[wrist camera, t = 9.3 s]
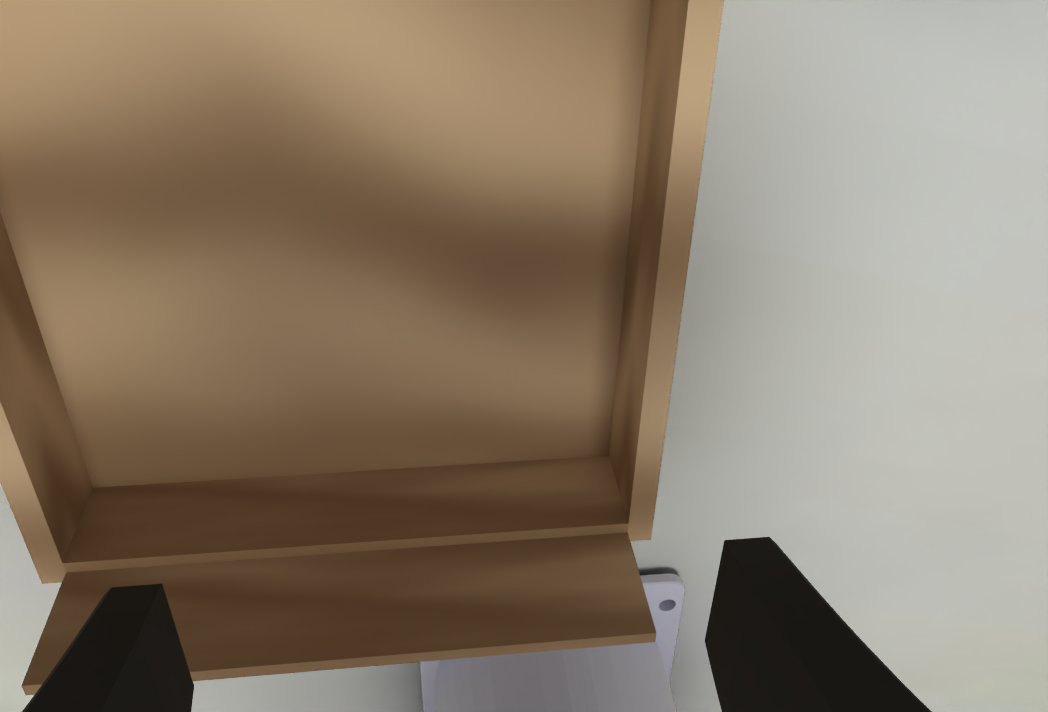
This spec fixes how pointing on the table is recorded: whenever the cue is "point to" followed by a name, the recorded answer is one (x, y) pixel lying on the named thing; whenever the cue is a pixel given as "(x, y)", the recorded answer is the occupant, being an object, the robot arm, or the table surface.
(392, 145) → the brown wooden open box
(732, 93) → the table surface
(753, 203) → the table surface
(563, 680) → the robot arm
